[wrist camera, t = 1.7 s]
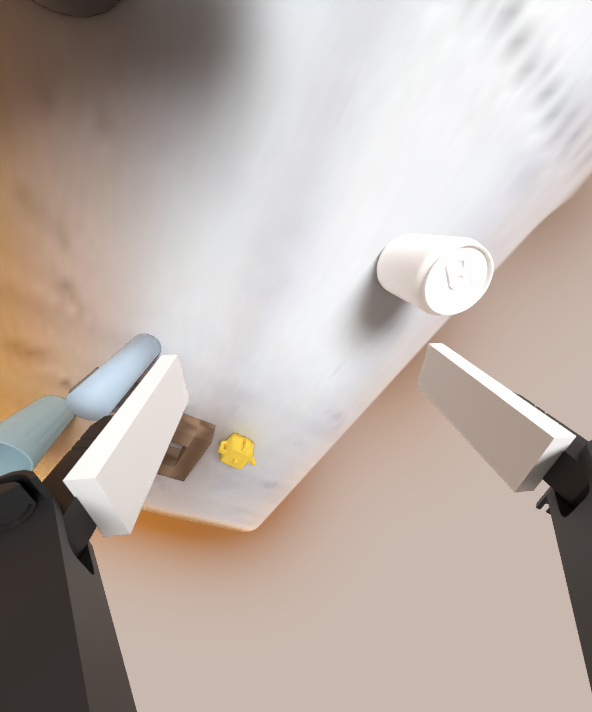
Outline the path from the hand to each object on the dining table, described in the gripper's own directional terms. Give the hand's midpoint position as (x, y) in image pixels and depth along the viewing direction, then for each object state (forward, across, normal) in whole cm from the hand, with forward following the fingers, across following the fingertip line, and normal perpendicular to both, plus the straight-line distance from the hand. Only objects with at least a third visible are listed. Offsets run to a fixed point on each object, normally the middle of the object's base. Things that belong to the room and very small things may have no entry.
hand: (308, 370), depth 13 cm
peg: (+25, -21, -10) cm, 34 cm away
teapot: (+25, -9, -31) cm, 41 cm away
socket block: (+24, -22, -29) cm, 43 cm away
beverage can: (+25, +17, +2) cm, 30 cm away
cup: (+25, -38, -21) cm, 50 cm away
